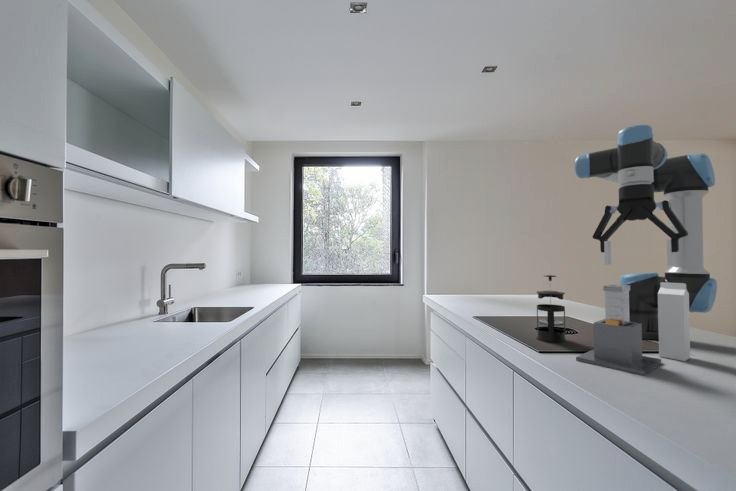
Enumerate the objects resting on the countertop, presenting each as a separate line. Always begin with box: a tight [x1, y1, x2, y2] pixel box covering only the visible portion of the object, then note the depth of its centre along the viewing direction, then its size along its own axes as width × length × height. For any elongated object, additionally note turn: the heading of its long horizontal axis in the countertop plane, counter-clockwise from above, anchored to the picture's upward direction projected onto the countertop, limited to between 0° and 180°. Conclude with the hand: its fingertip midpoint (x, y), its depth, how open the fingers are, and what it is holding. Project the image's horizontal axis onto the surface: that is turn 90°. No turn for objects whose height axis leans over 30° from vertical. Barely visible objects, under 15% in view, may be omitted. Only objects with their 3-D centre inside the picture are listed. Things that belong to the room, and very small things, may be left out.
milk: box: [658, 282, 691, 362], centre depth 105 cm, size 6×6×22 cm
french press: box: [536, 274, 567, 344], centre depth 127 cm, size 12×9×23 cm
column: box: [602, 284, 630, 326], centre depth 101 cm, size 7×4×20 cm, turn 129°
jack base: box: [575, 318, 662, 376], centre depth 101 cm, size 16×16×12 cm
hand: (637, 265), depth 94 cm, fingers open, 13 cm apart
